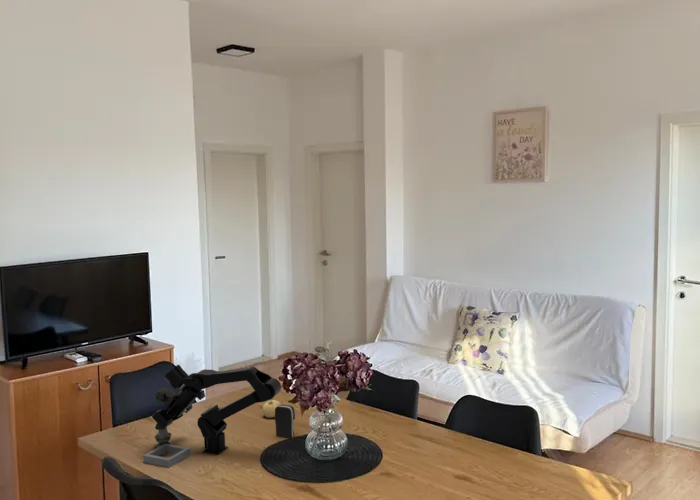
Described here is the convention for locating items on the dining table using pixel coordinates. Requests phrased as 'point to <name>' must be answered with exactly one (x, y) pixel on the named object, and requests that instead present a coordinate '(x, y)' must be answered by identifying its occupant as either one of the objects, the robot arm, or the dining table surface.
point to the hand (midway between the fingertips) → (159, 426)
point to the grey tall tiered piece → (162, 437)
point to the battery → (284, 420)
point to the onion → (270, 408)
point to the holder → (155, 458)
